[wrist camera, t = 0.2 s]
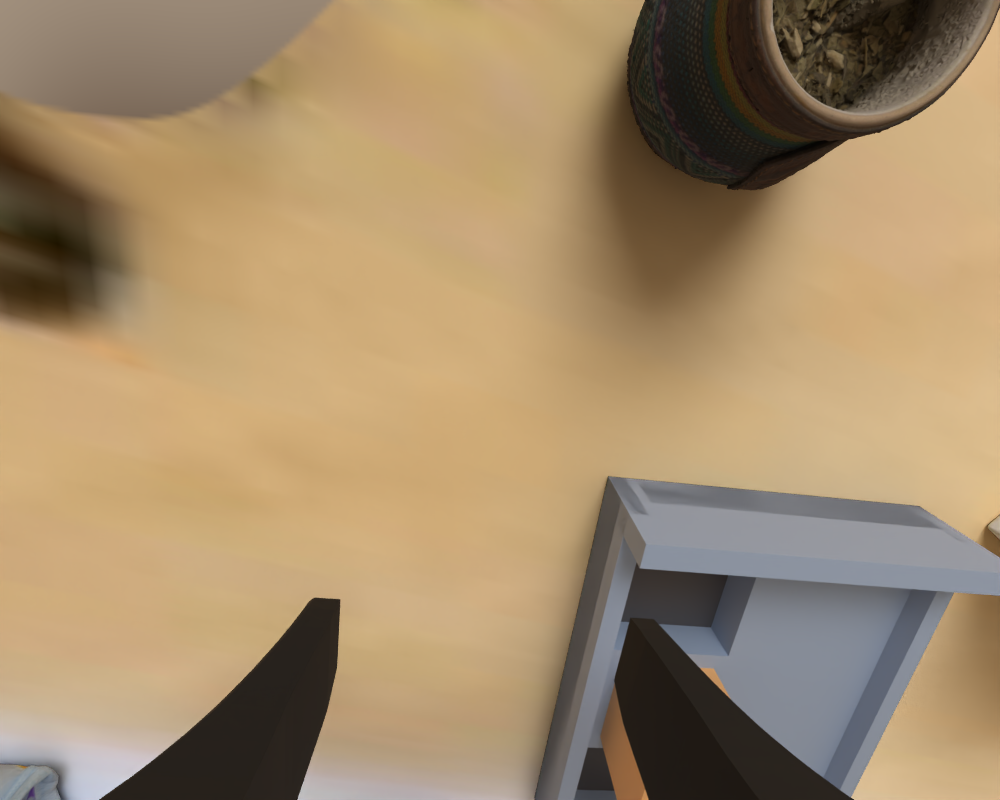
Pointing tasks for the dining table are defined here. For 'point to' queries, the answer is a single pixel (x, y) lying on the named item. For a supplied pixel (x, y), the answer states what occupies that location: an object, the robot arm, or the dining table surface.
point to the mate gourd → (789, 77)
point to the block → (628, 749)
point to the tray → (762, 615)
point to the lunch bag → (28, 783)
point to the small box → (995, 527)
